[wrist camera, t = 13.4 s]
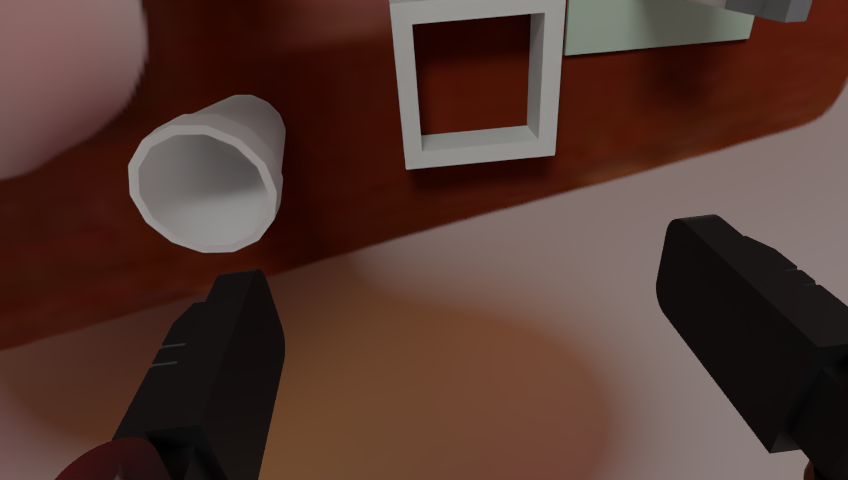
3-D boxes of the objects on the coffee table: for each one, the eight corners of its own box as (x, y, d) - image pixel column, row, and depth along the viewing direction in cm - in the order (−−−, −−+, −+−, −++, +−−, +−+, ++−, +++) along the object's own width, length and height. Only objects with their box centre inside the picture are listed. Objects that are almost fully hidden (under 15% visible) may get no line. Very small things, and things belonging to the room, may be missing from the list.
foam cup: (195, 63, 41) (124, 109, 29) (308, 88, 42) (282, 140, 31) (194, 168, 45) (132, 241, 34) (296, 187, 47) (269, 263, 36)
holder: (388, -2, 39) (389, 3, 36) (550, -16, 39) (566, -12, 36) (404, 152, 46) (406, 169, 42) (542, 139, 46) (554, 155, 43)
